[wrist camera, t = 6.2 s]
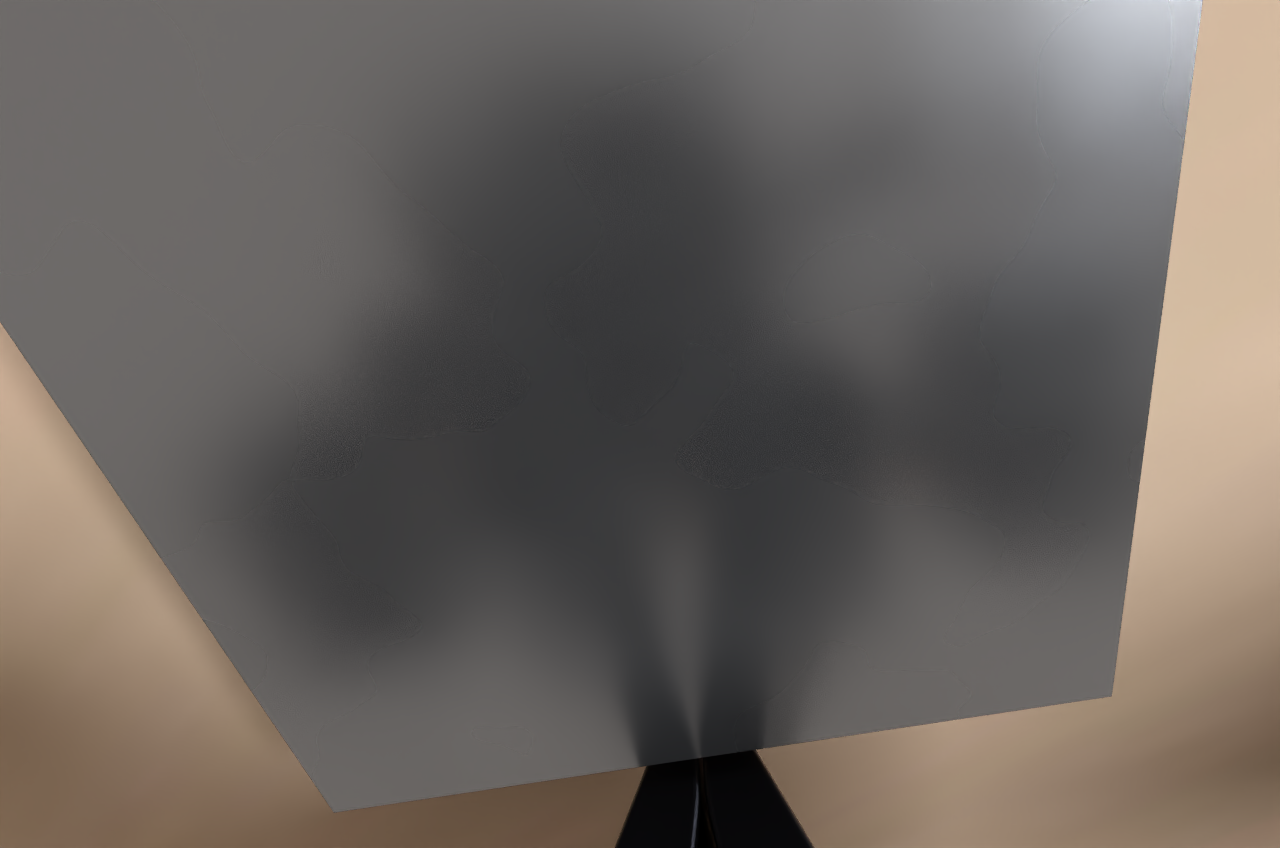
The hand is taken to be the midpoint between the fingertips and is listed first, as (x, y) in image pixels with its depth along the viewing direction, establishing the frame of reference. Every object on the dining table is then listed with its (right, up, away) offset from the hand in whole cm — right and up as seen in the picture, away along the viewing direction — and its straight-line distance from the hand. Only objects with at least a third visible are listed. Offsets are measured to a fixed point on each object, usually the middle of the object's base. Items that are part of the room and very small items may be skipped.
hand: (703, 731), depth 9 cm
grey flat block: (-2, +8, -3) cm, 9 cm away
